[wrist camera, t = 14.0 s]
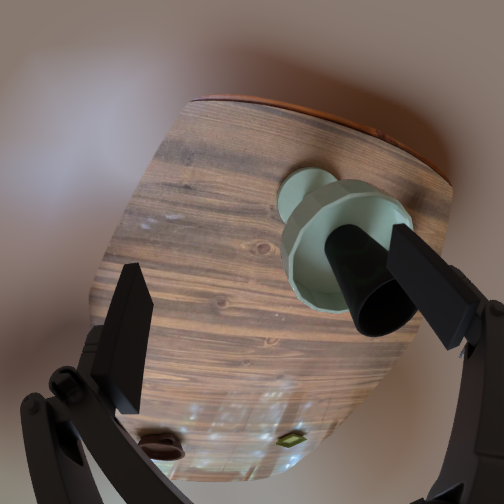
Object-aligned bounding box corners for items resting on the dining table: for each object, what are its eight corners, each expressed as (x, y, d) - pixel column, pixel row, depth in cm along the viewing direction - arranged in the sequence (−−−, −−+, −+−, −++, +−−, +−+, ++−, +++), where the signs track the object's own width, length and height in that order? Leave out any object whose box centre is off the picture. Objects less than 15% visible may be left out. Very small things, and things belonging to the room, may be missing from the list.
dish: (131, 446, 89) (131, 457, 85) (141, 424, 80) (140, 438, 75) (176, 454, 95) (176, 465, 90) (193, 434, 86) (193, 447, 81)
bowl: (257, 154, 44) (288, 198, 28) (355, 150, 45) (424, 189, 29) (263, 247, 52) (288, 322, 37) (349, 236, 54) (399, 300, 38)
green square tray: (306, 435, 97) (307, 439, 95) (287, 443, 99) (288, 448, 97) (293, 431, 92) (294, 435, 91) (273, 440, 95) (274, 444, 93)
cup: (367, 206, 34) (425, 261, 24) (376, 256, 38) (423, 316, 28) (308, 230, 34) (349, 297, 24) (323, 279, 38) (359, 348, 28)
